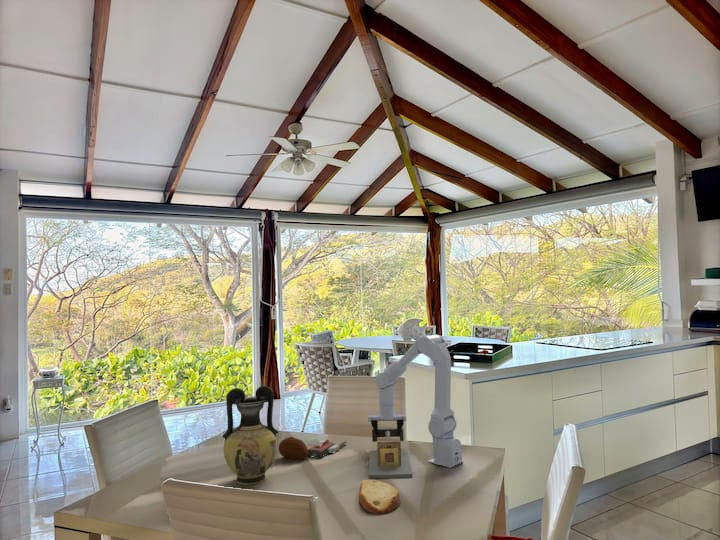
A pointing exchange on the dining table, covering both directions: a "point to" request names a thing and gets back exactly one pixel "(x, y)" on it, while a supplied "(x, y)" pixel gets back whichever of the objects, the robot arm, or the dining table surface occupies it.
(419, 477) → the dining table surface
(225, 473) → the dining table surface
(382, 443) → the bearing block
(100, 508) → the dining table surface
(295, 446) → the potato
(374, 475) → the mat
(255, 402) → the amphora
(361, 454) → the dining table surface
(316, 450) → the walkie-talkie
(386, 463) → the collar
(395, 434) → the grey and silver t-piece
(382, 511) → the slice of bread
